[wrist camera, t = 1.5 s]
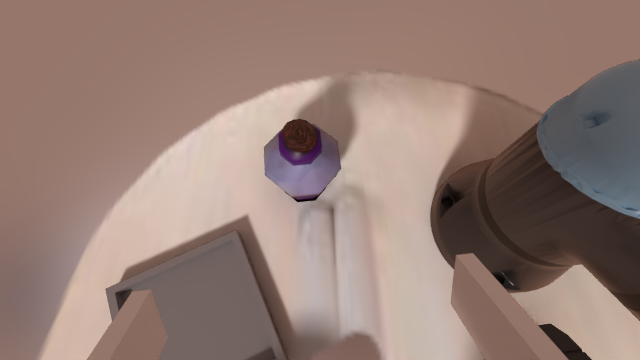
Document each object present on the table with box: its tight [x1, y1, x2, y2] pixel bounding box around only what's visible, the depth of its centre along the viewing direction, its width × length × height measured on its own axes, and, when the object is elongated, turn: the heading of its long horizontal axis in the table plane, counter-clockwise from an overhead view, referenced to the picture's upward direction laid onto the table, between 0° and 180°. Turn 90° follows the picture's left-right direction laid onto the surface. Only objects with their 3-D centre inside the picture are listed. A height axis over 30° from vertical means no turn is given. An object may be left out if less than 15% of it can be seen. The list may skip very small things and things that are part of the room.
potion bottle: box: [264, 119, 341, 202], centre depth 34 cm, size 9×9×12 cm
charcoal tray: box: [106, 230, 289, 360], centre depth 33 cm, size 15×15×2 cm
